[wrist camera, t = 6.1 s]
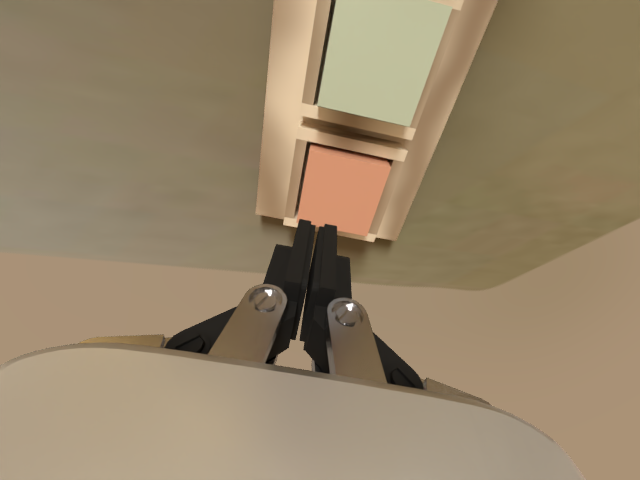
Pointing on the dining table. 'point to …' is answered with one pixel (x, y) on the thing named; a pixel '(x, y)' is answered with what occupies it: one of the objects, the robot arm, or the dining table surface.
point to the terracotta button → (342, 188)
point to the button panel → (349, 129)
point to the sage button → (381, 56)
